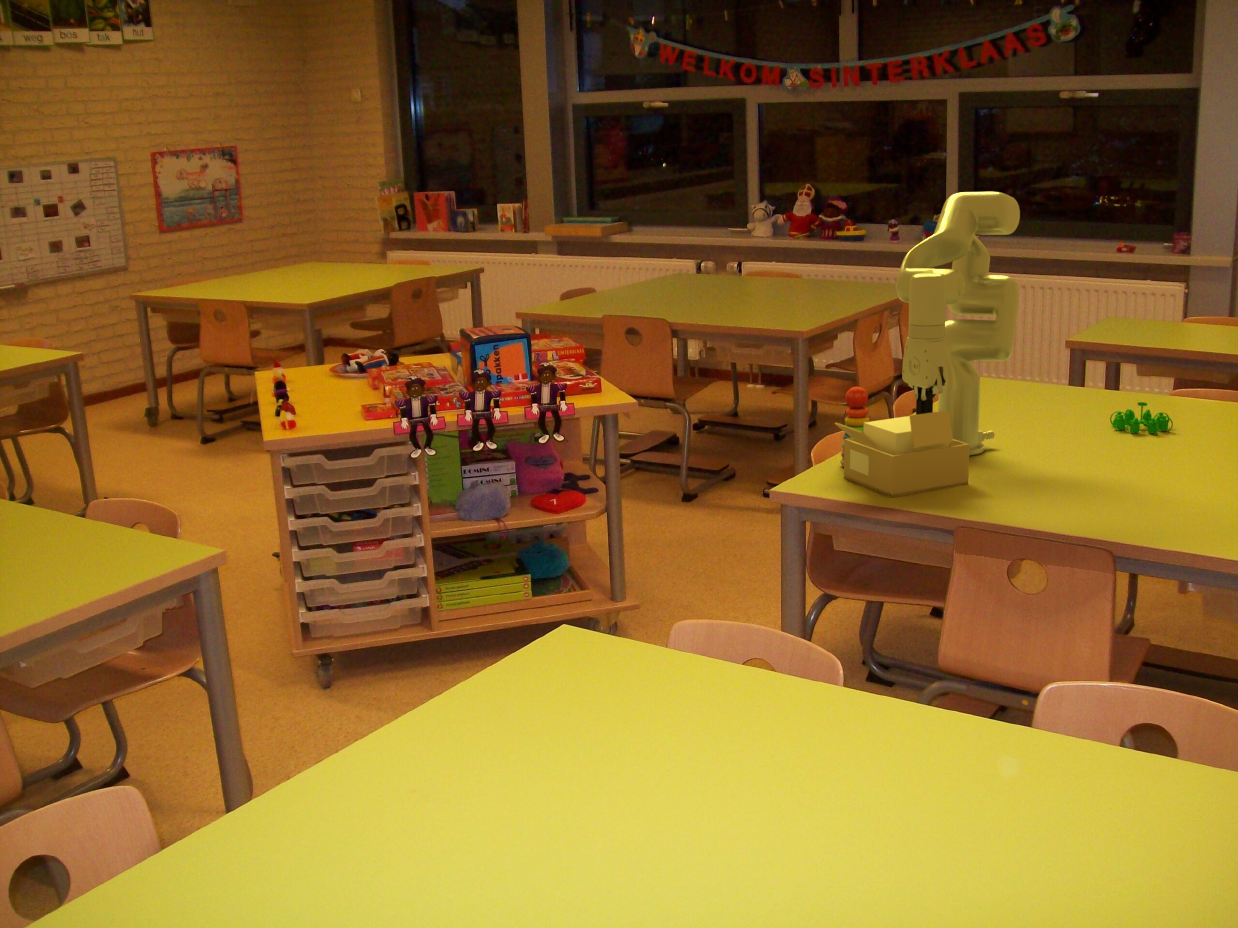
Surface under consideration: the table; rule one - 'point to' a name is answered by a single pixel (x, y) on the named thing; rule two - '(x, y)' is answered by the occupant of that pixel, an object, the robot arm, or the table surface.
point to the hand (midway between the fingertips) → (924, 417)
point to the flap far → (858, 435)
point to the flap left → (931, 428)
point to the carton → (904, 461)
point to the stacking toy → (855, 412)
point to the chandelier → (1141, 421)
